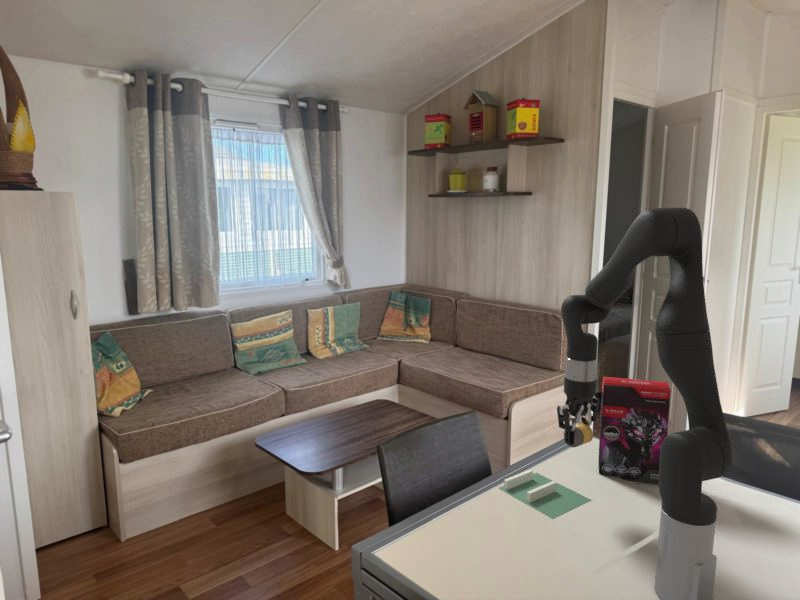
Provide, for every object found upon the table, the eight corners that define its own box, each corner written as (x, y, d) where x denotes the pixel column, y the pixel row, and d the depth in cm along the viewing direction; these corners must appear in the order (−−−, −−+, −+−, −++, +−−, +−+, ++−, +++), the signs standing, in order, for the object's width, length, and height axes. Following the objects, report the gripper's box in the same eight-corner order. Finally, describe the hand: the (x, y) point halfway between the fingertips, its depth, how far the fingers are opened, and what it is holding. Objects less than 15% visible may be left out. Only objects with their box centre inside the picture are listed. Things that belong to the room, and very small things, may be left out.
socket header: (555, 491, 146) (556, 482, 146) (529, 502, 141) (529, 493, 140) (529, 478, 154) (530, 469, 153) (503, 488, 148) (504, 479, 147)
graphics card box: (597, 477, 156) (603, 382, 151) (596, 466, 163) (602, 375, 158) (664, 486, 151) (673, 388, 147) (660, 474, 158) (669, 381, 153)
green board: (591, 502, 142) (591, 500, 142) (552, 521, 134) (552, 518, 134) (536, 475, 157) (536, 472, 157) (497, 490, 148) (498, 487, 148)
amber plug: (591, 445, 140) (594, 428, 138) (577, 450, 137) (581, 433, 135) (575, 436, 143) (578, 419, 142) (562, 441, 140) (565, 424, 139)
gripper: (574, 384, 130) (570, 454, 133) (611, 374, 138) (607, 439, 141) (548, 376, 136) (545, 443, 139) (585, 367, 144) (582, 430, 147)
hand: (576, 441), depth 140 cm, fingers closed on amber plug, 5 cm apart
